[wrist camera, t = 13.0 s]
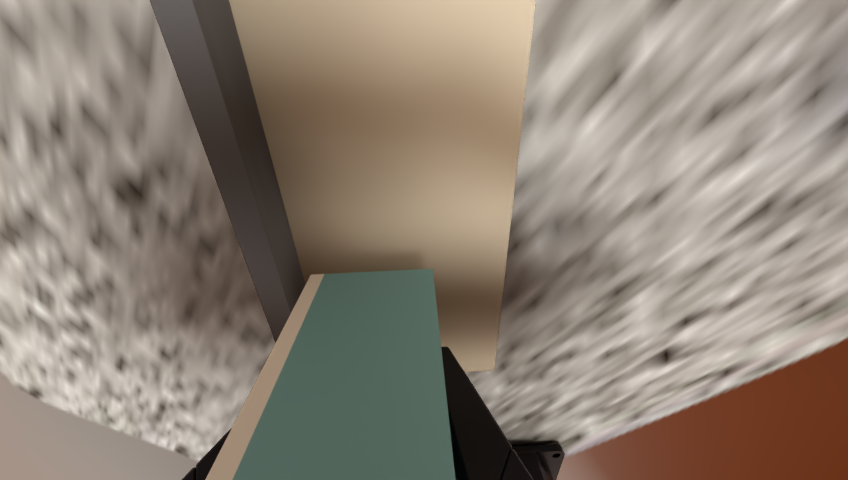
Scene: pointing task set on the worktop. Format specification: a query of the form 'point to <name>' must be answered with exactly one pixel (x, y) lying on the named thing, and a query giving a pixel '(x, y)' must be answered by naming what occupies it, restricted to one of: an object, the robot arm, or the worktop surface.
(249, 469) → the teal box
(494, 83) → the shelf board
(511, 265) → the worktop surface
